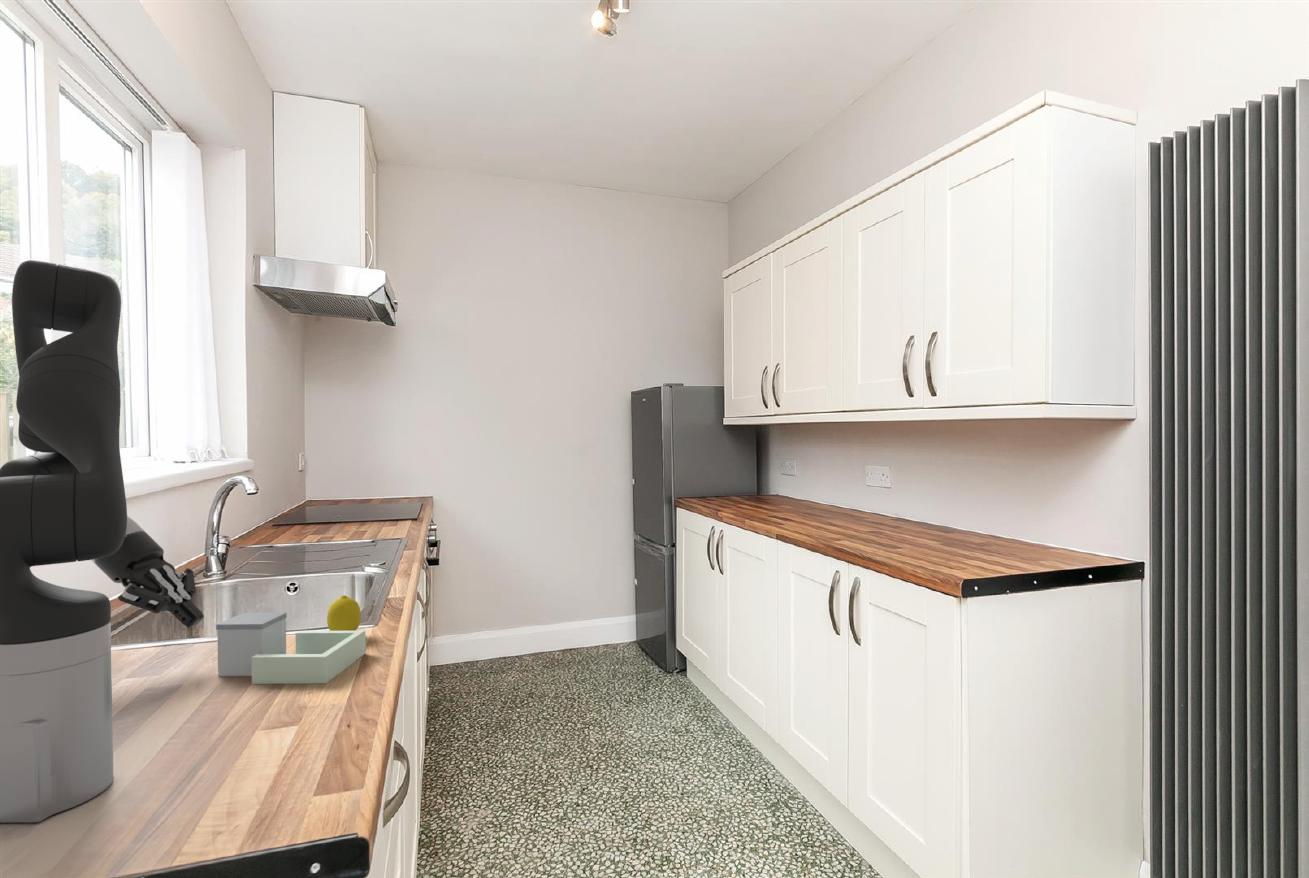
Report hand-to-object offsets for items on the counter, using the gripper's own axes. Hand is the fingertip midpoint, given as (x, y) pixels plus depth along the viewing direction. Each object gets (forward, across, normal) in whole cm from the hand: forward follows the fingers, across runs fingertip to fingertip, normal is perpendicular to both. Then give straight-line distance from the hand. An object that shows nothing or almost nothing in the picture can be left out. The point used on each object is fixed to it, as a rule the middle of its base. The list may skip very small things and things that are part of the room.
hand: (197, 622), depth 99 cm
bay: (+18, 0, -8) cm, 20 cm away
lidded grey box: (+12, 0, -1) cm, 12 cm away
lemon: (+17, +14, -6) cm, 23 cm away
